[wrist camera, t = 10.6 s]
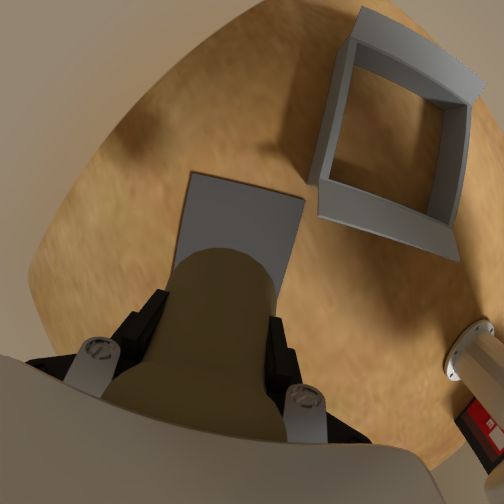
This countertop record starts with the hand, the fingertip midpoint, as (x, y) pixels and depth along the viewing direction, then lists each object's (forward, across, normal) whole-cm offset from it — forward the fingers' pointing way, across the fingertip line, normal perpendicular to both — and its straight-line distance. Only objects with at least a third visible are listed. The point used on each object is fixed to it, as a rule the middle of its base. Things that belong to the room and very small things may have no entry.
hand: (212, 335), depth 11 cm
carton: (+18, -14, -16) cm, 28 cm away
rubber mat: (+18, 0, 0) cm, 18 cm away
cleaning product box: (+19, -64, +22) cm, 70 cm away
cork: (+3, 0, 0) cm, 3 cm away
